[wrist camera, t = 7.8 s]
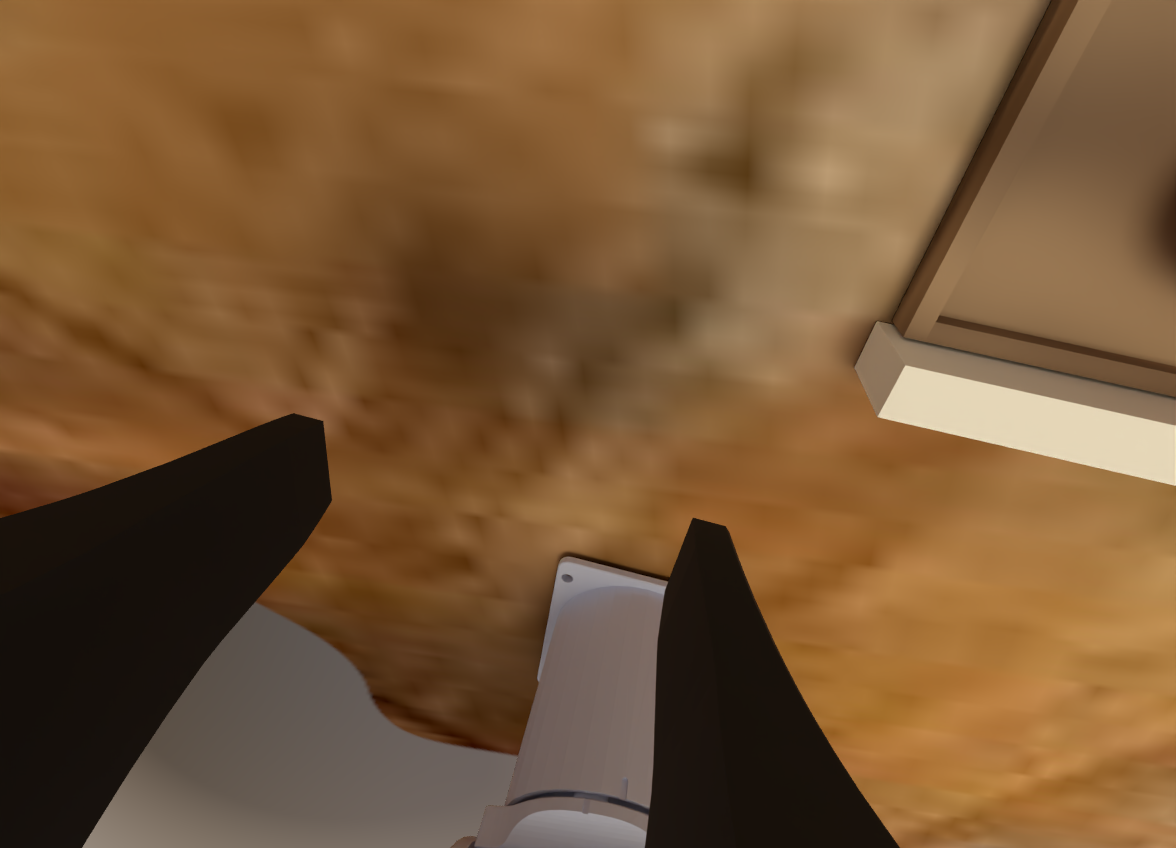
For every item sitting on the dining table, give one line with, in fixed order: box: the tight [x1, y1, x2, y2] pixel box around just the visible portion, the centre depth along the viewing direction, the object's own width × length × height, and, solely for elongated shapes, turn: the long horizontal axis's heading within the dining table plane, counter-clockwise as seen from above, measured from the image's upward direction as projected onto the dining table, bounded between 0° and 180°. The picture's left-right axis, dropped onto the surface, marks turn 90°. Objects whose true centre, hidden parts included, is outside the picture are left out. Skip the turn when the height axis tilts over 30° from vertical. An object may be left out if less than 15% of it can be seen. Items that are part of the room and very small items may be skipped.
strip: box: [854, 321, 1176, 486], centre depth 15 cm, size 2×16×3 cm, turn 81°
